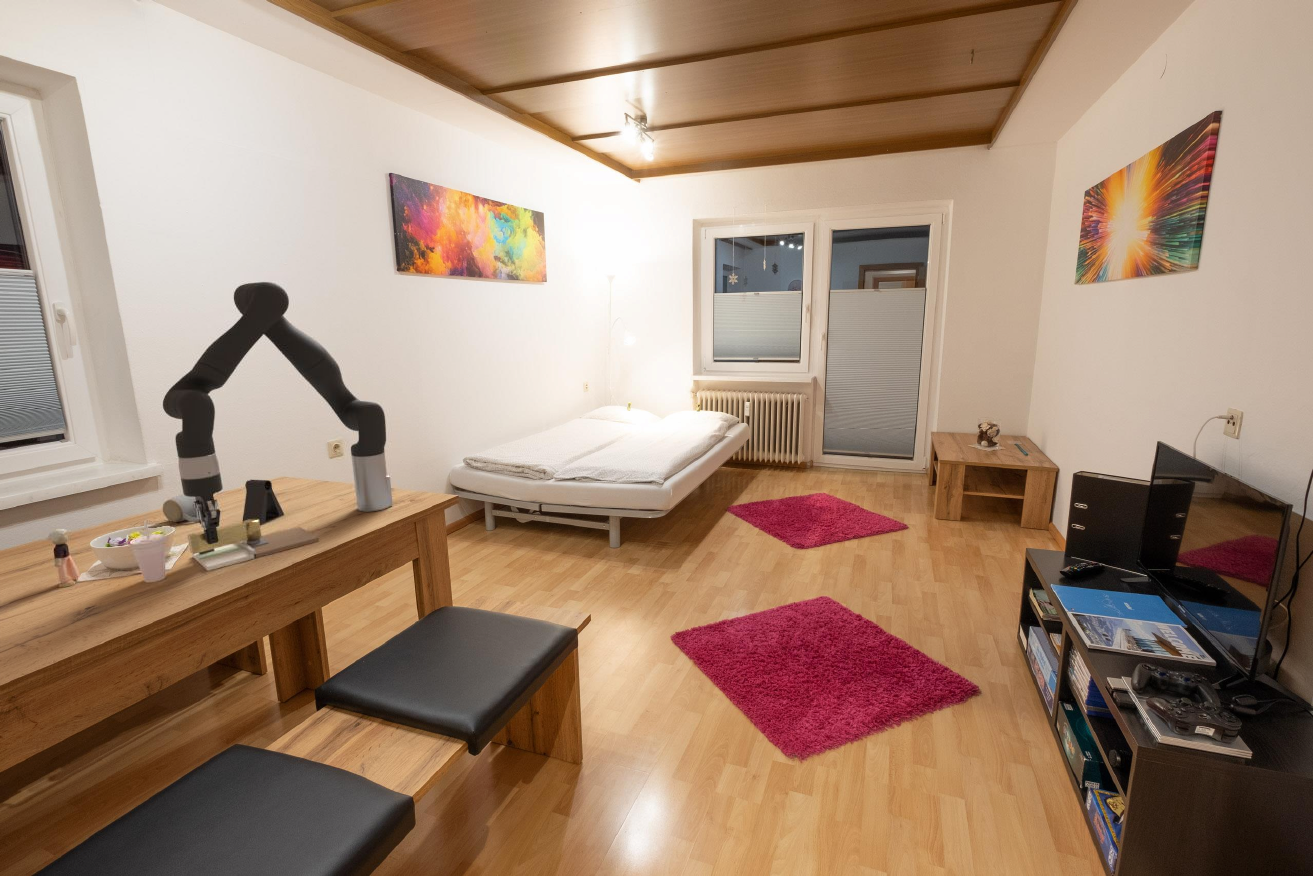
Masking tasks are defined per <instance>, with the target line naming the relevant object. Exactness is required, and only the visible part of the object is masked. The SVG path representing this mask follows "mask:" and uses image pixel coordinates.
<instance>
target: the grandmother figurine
mask: <svg viewBox="0 0 1313 876" xmlns="http://www.w3.org/2000/svg"><path fill="white" fill-rule="evenodd" d="M68 539H69V537H68V531H67V529H64V528H57V529H53V530H52V531H51V532H50V533H49V534H48V536H47V538H46V540H47V541H51V542H52V543H53V544H54V548H53V556H54V567H55V568H57V572H58V580H59V584H58V587H59V588H63V587H70V586H75V584H76V582H77V581H78V579H79V578H80V577H81V574H80V571H79V569H78V567H77V565H76V563H75V562H74V560H73V558H72V556H71V554H70V551H69V550H70V549H69V546H68V544H67V542H68Z"/></svg>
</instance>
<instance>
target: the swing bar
mask: <svg viewBox="0 0 1313 876" xmlns="http://www.w3.org/2000/svg"><path fill="white" fill-rule="evenodd" d="M242 521H243V520H242ZM242 521H240V522H237V523H233V524H230V525H229V524H228V525H225V526H219V527H216V529H217V535H218V542H217V543H213V544H208V543H207V542H206V539H205V534H204V530H203V531H199V532H196V533H195V532H193V533H189V534H187V535H186V536H187V541H188V546H189V553H190V554H196V553H200V552H203V551H207V550H211V549H215V548H219V547H222V546H226V545H230V544H234V543H238V542H242V541H245V540H246V541H251V540H257V539H259V538H261V537H262V536H263V535H262V531H261V525H260V522H259V519H249V520H245V521H243V522H242Z"/></svg>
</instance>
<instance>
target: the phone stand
mask: <svg viewBox="0 0 1313 876" xmlns="http://www.w3.org/2000/svg"><path fill="white" fill-rule="evenodd" d="M244 486H245V490H246V491H245V492H246V493H245V501H244V506H243V515H242V521H241V522H243V521H245V520H249V519H259V522H260V526H262V525H265V524H267V523H269V522H272V521H275V520H277V519H279V518H281V517H283V516H285V513H284V511H283V508H282V506H281V505H280V502H279V500H278V499H277V497H276V494H275V492H274V490H273V483H272V481H270V479H269V480H267V479H266V480H265V479H249V480H247V481H245V485H244Z"/></svg>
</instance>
